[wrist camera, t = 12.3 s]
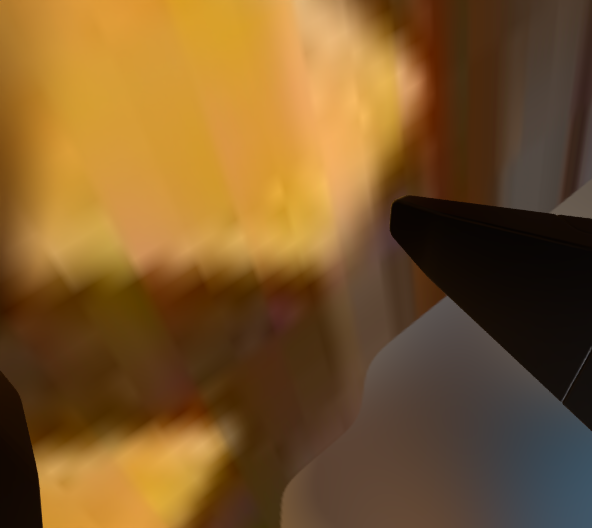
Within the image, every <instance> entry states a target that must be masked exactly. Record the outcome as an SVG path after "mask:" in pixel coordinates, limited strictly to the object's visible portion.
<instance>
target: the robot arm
mask: <svg viewBox="0 0 592 528" xmlns="http://www.w3.org/2000/svg"><path fill="white" fill-rule="evenodd" d="M390 232H391V235H392V237H393V238H394V239H395V240H396V241H397V242H398V244H399V245H400V246H401V247H402V248H403V249H404V250H405V252H406V253H407V254H408V255H409V256H410V257H411V259H412V260H413V261H414V262H415V263H416V264H417V265H418V267H419V268H420V269H421V270H422V271H423V272H424V273H425V274H426V275H427V277H428V278H429V279H430V280H431V281H432V282H434V283H435V284H436V285H437V286H438V287H439V288H440V289H441V290H442V291H443V292H444V293H445V294H446V295H447V296H448V297H450V298H451V299H452V300H453V301H454V302H455V303H456V304H457V305H458V306H459V307H460V308H461V309H462V310H463V311H464V312H466V313H467V314H468V315H469V316H470V317H471V318H472V319H473V320H474V321H475V322H476V323H477V324H478V325H479V326H480V327H482V328H483V329H484V330H485V331H486V332H487V333H488V334H489V335H490V336H491V337H492V338H493V339H494V340H495V341H496V342H498V343H499V344H500V345H501V346H502V347H503V348H504V349H505V350H506V351H507V352H508V353H509V354H511V356H512V357H514V358H515V359H516V360H517V361H518V362H519V363H520V364H521V365H522V366H523V367H524V368H525V369H526V370H528V372H530V373H531V374H532V375H533V376H534V377H535V378H536V379H537V380H539V382H540V383H541V384H543V386H544V387H546V388H547V389H548V390H549V391H550V392H551V393H552V394H553V395H554V396H555V397H556V398H557V399H558V400H559V401H561V402H562V403H563V405H564V406H565V407H566V408H568V409H569V410H570V411H571V412H572V413H573V414H574V415H575V416H576V417H577V418H578V419H579V420H580V421H581V422H582V423H584V424H585V425H586V426H587V427H588V428H589V429H590V430H591V431H592V219H590V218H582V217H573V216H565V215H555V214H550V213H542V212H534V211H527V210H519V209H511V208H504V207H496V206H488V205H480V204H473V203H465V202H457V201H449V200H442V199H434V198H426V197H419V196H411V195H406V196H403V197H400V198H398V199H395V200H394V201H393V202H392V205H391V214H390ZM0 528H43V523H42V511H41V499H40V487H39V479H38V472H37V467H36V462H35V458H34V454H33V449H32V445H31V441H30V436H29V432H28V427H27V423H26V419H25V414H24V410H23V406H22V402H21V399H20V396H19V394H18V392H17V391H16V389H15V388H14V387H13V385H12V384H11V383H10V382H9V381H8V379H7V378H6V377H5V376H4V374H3V373H2V372H1V371H0Z"/></svg>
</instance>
